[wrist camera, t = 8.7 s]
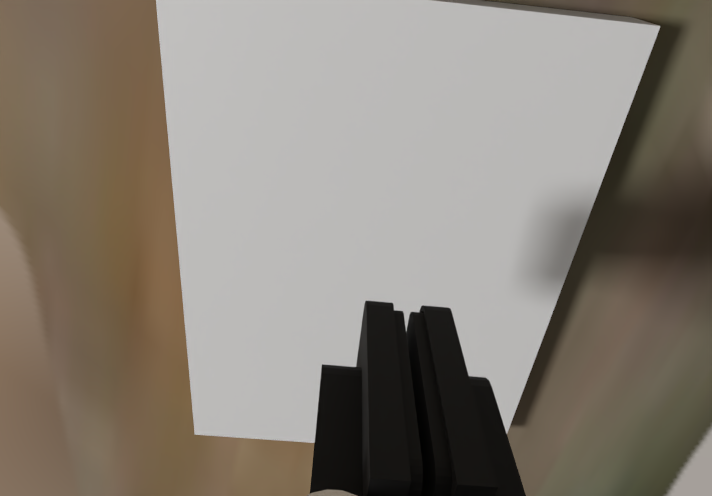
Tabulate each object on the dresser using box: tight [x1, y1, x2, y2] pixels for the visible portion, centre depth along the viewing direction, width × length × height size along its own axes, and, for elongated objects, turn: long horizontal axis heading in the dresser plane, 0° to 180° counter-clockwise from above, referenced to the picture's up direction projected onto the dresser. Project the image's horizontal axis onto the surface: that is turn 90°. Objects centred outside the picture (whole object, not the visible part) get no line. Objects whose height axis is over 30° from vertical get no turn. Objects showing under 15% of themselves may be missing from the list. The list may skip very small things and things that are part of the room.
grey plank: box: [156, 0, 660, 443], centre depth 17 cm, size 16×12×2 cm
